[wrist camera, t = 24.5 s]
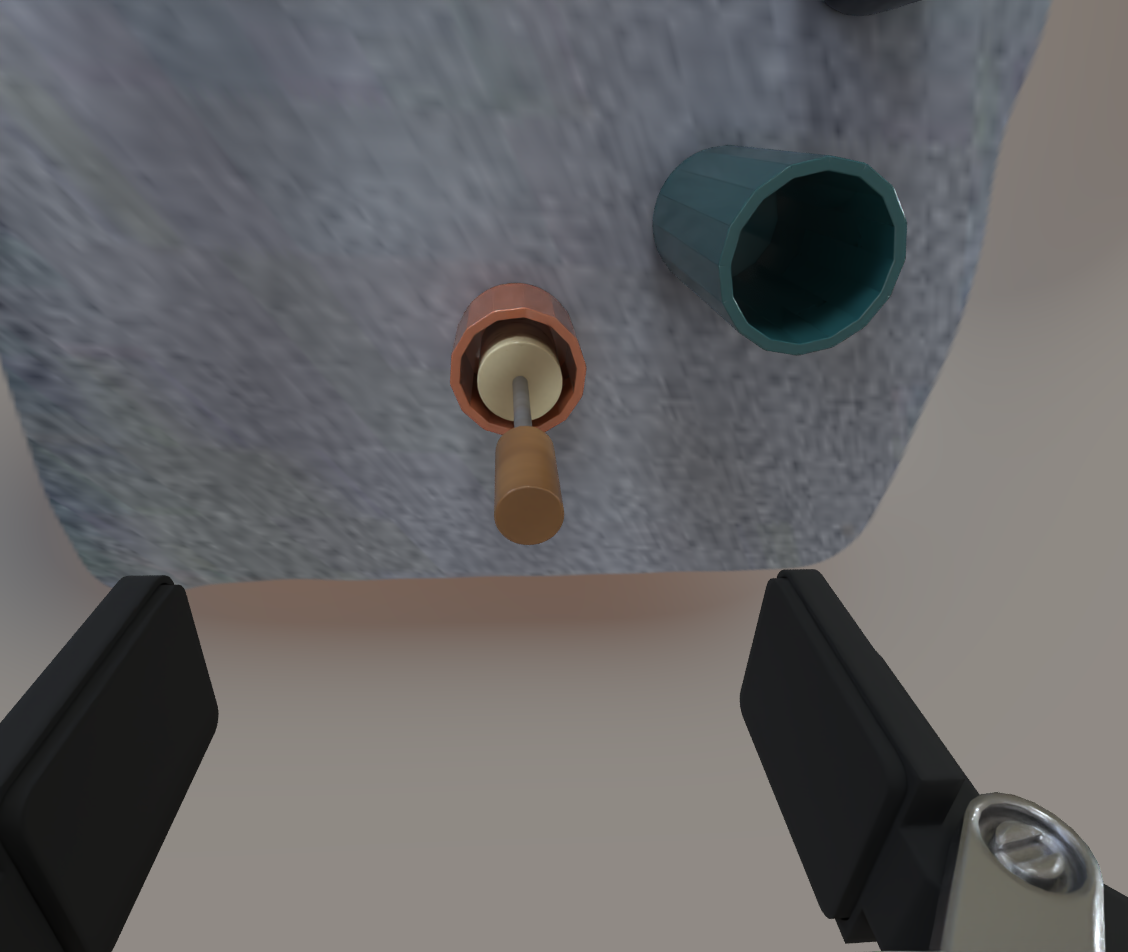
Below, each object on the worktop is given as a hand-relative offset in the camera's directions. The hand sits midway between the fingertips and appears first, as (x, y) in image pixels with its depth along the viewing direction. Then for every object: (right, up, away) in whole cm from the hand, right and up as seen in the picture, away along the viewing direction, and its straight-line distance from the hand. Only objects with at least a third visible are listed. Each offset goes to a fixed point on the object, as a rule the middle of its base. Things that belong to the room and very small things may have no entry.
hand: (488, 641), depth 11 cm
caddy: (-2, +11, +29) cm, 31 cm away
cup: (+10, +17, +26) cm, 33 cm away
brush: (-2, +10, +28) cm, 30 cm away
